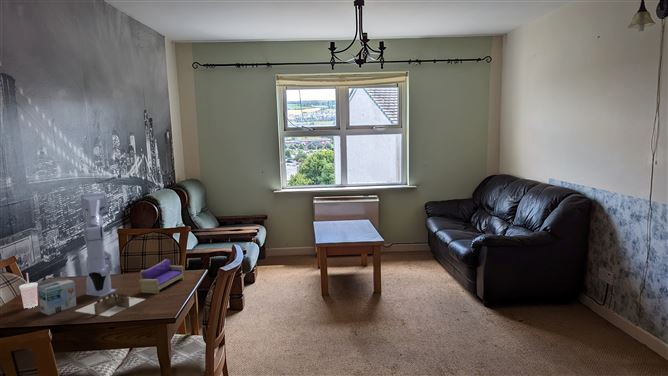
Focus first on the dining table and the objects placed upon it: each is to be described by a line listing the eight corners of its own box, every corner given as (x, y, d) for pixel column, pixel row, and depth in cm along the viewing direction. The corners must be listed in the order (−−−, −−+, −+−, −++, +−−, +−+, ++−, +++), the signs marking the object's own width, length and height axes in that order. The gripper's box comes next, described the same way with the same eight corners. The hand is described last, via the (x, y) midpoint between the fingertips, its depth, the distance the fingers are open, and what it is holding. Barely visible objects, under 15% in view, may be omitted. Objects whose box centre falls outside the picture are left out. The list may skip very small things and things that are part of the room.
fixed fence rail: (117, 306, 166) (115, 293, 166) (119, 305, 167) (118, 292, 167) (127, 308, 164) (125, 294, 164) (129, 306, 166) (128, 293, 165)
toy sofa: (157, 295, 179) (155, 272, 178) (139, 294, 181) (138, 271, 180) (185, 279, 199) (183, 258, 198) (169, 278, 201) (167, 258, 200)
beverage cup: (18, 310, 167) (14, 276, 165) (26, 304, 173) (22, 271, 171) (35, 308, 168) (31, 274, 166) (42, 302, 174) (39, 270, 172)
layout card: (74, 312, 163) (74, 310, 163) (113, 295, 180) (113, 294, 180) (108, 317, 157) (108, 316, 157) (145, 300, 173) (145, 298, 173)
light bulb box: (48, 316, 160) (45, 289, 159) (40, 312, 163) (37, 286, 162) (77, 306, 169) (75, 280, 168) (69, 303, 172) (66, 278, 171)
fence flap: (115, 304, 168) (114, 291, 167) (118, 304, 168) (117, 291, 167) (95, 314, 158) (93, 300, 158) (97, 314, 158) (96, 300, 157)
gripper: (114, 257, 162) (117, 291, 164) (99, 251, 171) (102, 283, 173) (95, 261, 157) (98, 296, 158) (80, 255, 166) (84, 288, 168)
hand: (99, 290), depth 165 cm, fingers closed
